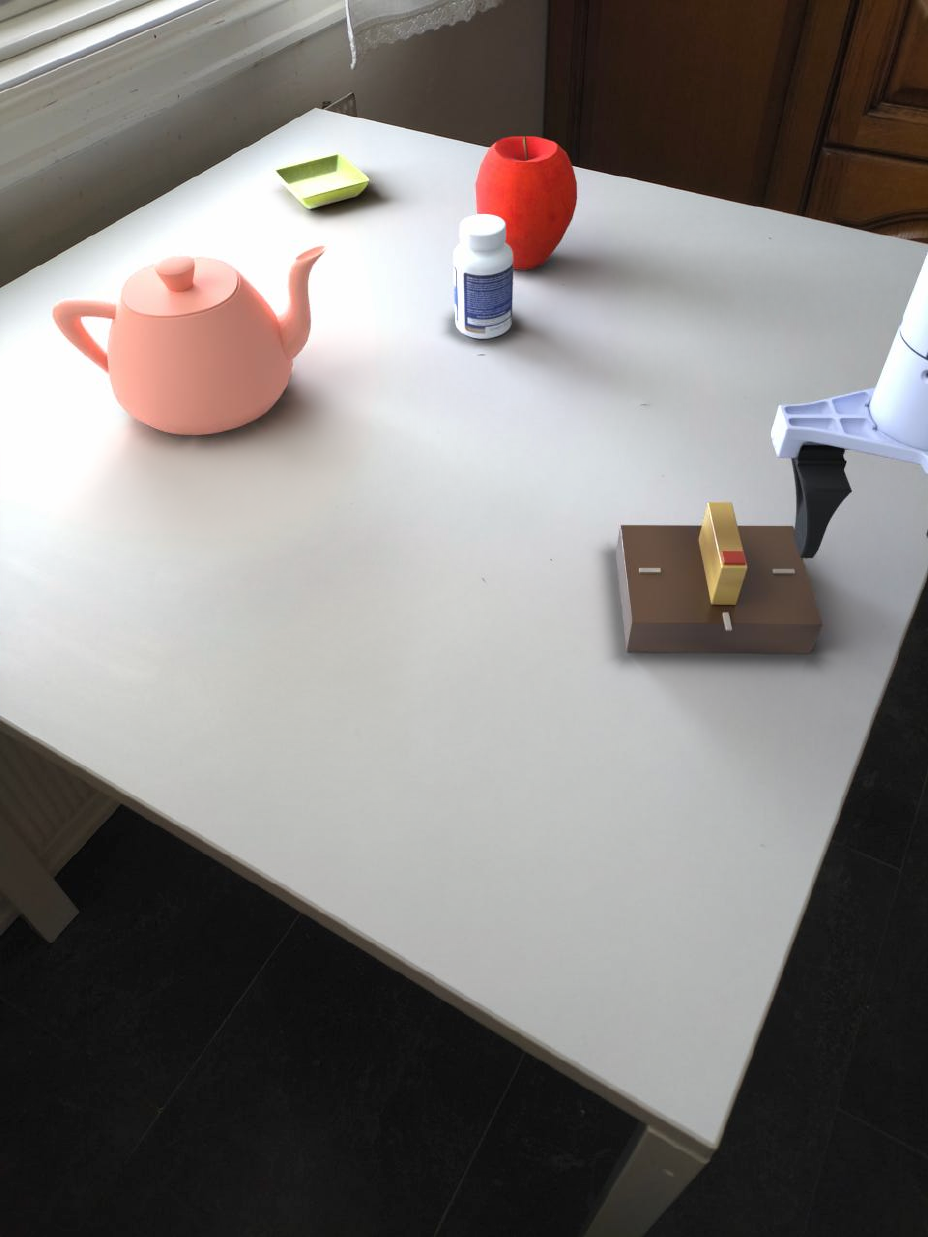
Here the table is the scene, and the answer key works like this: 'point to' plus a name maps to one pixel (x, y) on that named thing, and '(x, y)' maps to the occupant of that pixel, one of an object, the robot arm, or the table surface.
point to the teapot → (195, 342)
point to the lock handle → (722, 553)
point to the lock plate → (680, 602)
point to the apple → (528, 195)
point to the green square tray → (323, 180)
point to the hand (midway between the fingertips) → (869, 546)
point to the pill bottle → (483, 277)
